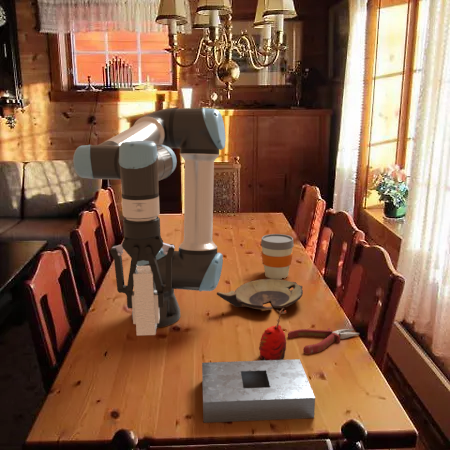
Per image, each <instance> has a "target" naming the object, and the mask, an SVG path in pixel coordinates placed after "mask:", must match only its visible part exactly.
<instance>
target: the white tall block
mask: <svg viewBox="0 0 450 450" xmlns="http://www.w3.org/2000/svg"><path fill="white" fill-rule="evenodd" d="M133 280H134V287H133V291H134V298H135V315H136V324H135V326H136V327H135V331H136V336H156V334H157V328H158V327H157V323H155V303H154V294H155V290H156V288H155V282H154V278H153V271H151V267H150V266H137V268H136V271H135V272H134V273H133Z"/></svg>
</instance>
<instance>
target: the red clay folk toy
mask: <svg viewBox="0 0 450 450" xmlns="http://www.w3.org/2000/svg"><path fill="white" fill-rule="evenodd" d="M283 310H284V311H283ZM276 311H277V312H278V313H279V315H278V318H277V319H276V321H277V322H276V325H272V326H269V327H267V328H265V329H264V332H263V333H262V335H261V338H260V342H259V347H258V350H259V359H260V360H261V361H265V360H285V356H286V355H285V354H286V350H287V339H286V333H285V332H284V330H283V328H282V326H281V325H280V324H279V323H280V322H281V320H280V319H281V315H282V314H287V310H285V307H283V308H281V310H278V309H276Z"/></svg>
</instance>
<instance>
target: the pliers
mask: <svg viewBox="0 0 450 450" xmlns="http://www.w3.org/2000/svg"><path fill="white" fill-rule="evenodd" d="M354 330H355V328H347V329H346V328H345V329H338V330H335V331H333V330H332V329H331V327H327V330H325V329H310V328H309V329H308V328H307V329H306V328H299V329H295V330H290V331H289V332H288V333H287V338H288V339H293V338H298V337H314V338H315V337H316V338H324V339H322V340H321V341H319V342H317V343H313V344H309V345H308V344H307V345H305V346H304V347H303V353H304V354H306V355H311V354H315V353H316V354H317V353H319V352H320V353H321V352H322V351H324V350H325V349H327V348H328V347H330V345H332V344H334V342H335V343H338V344H339V343H340V342H341V340H343V339H348V338H352V337H355V336H359V335H360V332H353V331H354ZM326 337H327V338H326Z"/></svg>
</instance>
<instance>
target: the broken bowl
mask: <svg viewBox="0 0 450 450" xmlns="http://www.w3.org/2000/svg"><path fill="white" fill-rule="evenodd" d="M303 294H304V290H303V285H299V284H298V282H294V281H290V280H284V279H271V278H263V279H262V278H261V279H256V280H251V281H249V282H245V283H244V284H241V285H240V286H238V287H237V288H236V289H235V290H230V291H229V292H220V291H217V292H216V295H217V296H218V297H219V298H220V299H223V300H225V301H226V302H227V303H229V304H231V305H232V306H234V307H236V308H241V307H247V308H250V309H253V310H254V309H255V310H261V311H262V310H263V311H264V310H268V311H269V310H273V308H274V309H283V308H287V307H289V306H291V305H293V304H295V303H297V302H298V301H299V300H300V299H301V298H302V297H303ZM268 303H271V306H264V304H268Z"/></svg>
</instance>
